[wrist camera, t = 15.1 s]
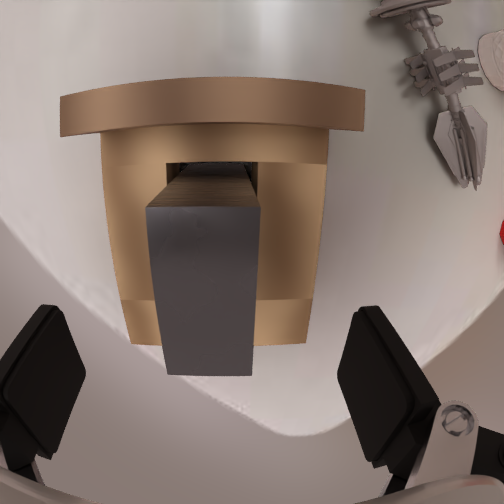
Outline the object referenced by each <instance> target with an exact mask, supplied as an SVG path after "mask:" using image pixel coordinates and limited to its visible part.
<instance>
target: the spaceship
mask: <svg viewBox="0 0 504 504" xmlns="http://www.w3.org/2000/svg"><path fill="white" fill-rule="evenodd" d="M449 3H451V0H384V1H382V2H381V6H380V7H377V8H375V9H373V10H371V11H370V15H371V16H372V17H375V16H380V17H381V18H387V17H391V16H396V15H400V14H404V13H409V15H410V17H411V18H410V20H409V21H407V22H406V23H405V27H406V28H407V29H408V30H414V31H416V30H417V29H418V30H419V31H421V32H422V34H423V35H422V36H423V37H424V38H425V41H426V43H427V47H428V49H424V53H423V54H421V53H419V54H420V55H417V56H413V57H409V58H406V59H405V62H406V64H410V65H411V68H412V70H410V74H411V76H415V78H416V80H417V81H415V82H414V84H415V87H416V88H420V87H423V88H422V89H421V90H420V91H421V94H422V97H424V96H425V95H426V94H427V93H428V92H429V91H430V90H431V89H432V88H433V90H435V89H434V87H435V86H436V88H437V89H438V91H439V92H440V94H445V97H446V99H447V103H448V106H447V107H448V111H445V112H441V113H439V115H438V119H437V124H436V128H435V132H434V136H433V139H434V140H435V142H436V144H437V145H438V147H439V149H440V150H441V152H442V154H443V156H444V157H445V159H446V161H447V163H448V165H449V167H450V168H451V170H452V172H453V174H454V175H455V176H456V177H457V179H458V181H459V183H460V185H461V187H462V188H466V187H467V186H468V184H469V181H473V185H474V189H475V190H476V191H477V185H480V184H481V178H482V171H483V168H484V164H485V153H486V140H487V123H486V122H485V121H484V119H483V118H482V117H481V116H480V115H479V113H478V112H477V111H476V110H475V109H474V107H473V106H467V107H461V103H460V101H459V97H458V93H460V92H461V88H463V87H465V89H466V86H471V85H483V80H482V78H481V77H469V73H468V72H473V71H479V67H478V64H465V61H464V58H471V57H475V55H474V52H473V50H460V48H459V47H457V48H456V49H454V50H453V48H452V51H450V52H449V51H448V50H447V48H446V46H440V44H439V43H438V41H437V38H436V36H435V32H433V29H434V26H436V27H437V26H439V25H441V24H442V23H443V20H442V18H441V17H440V16H438V15H430V14H429V12H428V10H427V8H431V7H435V6H440V5H445V4H449ZM457 59H462V60H461V61H460V62H459V63H458V61H457ZM422 64H423V65H424V66H425V67H422V68H417V67H418V66H420V65H422ZM415 68H417V69H415ZM464 72H466V73H465V74H464V75H462V73H464ZM427 76H429V79H426V80H423V79H425V78H426V77H427Z"/></svg>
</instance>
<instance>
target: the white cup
mask: <svg viewBox="0 0 504 504" xmlns="http://www.w3.org/2000/svg"><path fill="white" fill-rule="evenodd" d="M478 53H479V59H480V63H481V66H482V68H483V70H484V73H485V75H486V77H487V78H488V79H489V81H490V82H491V83H492V85H493V86H495V87H496V88H498V89H499V90H501V91H504V29H503V30H500V31H498V32H494V33H489V34H485V35H483V36H482V37H481V39H480V40H479V45H478Z"/></svg>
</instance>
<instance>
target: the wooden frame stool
mask: <svg viewBox="0 0 504 504" xmlns="http://www.w3.org/2000/svg"><path fill="white" fill-rule="evenodd" d="M364 112H365V90H362V89H357V88H351V87H345V86H339V85H333V84H325V83H318V82H309V81H300V80H289V79H276V78H257V77H196V78H178V79H165V80H154V81H145V82H137V83H129V84H122V85H116V86H109V87H104V88H98V89H93V90H88V91H83V92H78V93H74V94H70V95H65V96H61V97H60V137H65V136H73V135H82V134H91V133H100V135H101V160H102V175H103V188H104V198H105V208H106V216H107V224H108V232H109V239H110V245H111V252H112V258H113V264H114V269H115V275H116V280H117V285H118V290H119V295H120V299H121V304H122V308H123V313H124V317H125V321H126V325H127V329H128V333H129V337H130V341H131V344H140V345H161V346H162V343H161V337H160V331H159V325H158V319H157V312H156V306H155V299H154V291H153V284H152V276H151V267H150V258H149V248H148V238H147V226H146V212H145V207H146V206H147V205H148V204H149V203H150V202H151V201H152V200H153V199H154V198H155V197H156V196H157V195H158V194H159V193H160V192H161V191H162V190H163V189H164V188H165V187H166V186H167V185H168V184H169V183H170V182H171V181H172V180H173V179H174V178H175V177H176V176H177V175H178V174H179V162H217V161H245V162H252V171H251V184H252V187H253V189H254V192H255V194H256V197H257V199H258V201H259V204H260V206H261V215H260V235H259V254H258V273H257V292H256V311H255V329H254V346H261V345H283V344H299V343H306V338H307V332H308V326H309V319H310V313H311V306H312V299H313V292H314V285H315V278H316V270H317V262H318V254H319V245H320V236H321V227H322V217H323V207H324V196H325V184H326V171H327V156H328V140H329V129H334V130H351V131H364Z"/></svg>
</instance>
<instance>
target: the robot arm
mask: <svg viewBox="0 0 504 504" xmlns="http://www.w3.org/2000/svg"><path fill="white" fill-rule="evenodd" d="M85 376H86V370H85V367H84V365H83V362H82V360H81V358H80V355H79V353H78V350H77V348H76V346H75V343H74V341H73V338H72V336H71V333H70V330H69V328H68V325H67V322H66V320H65V316H64V314H63V312H62V311H61V310H60V309H59V308H58V307H57V306H55V305H44V304H43V305H41V306H40V307H39V308H38V309H37V310H36V312H35V313H34V314H33V315H32V317H31V318H30V319H29V321H28V322H27V323H26V325H25V326H24V327H23V329H22V330H21V331H20V333H19V334H18V335H17V337H16V338H15V339H14V341H13V342H12V344H11V345H10V347H9V348H8V349H7V351H6V352H5V354H4V355H3V357H2V358H1V360H0V504H102V503H98V502H94V501H90V500H86V499H83V498H80V497H76V496H73V495H70V494H67V493H64V492H61V491H58V490H55V489H53V488H50V487H47V486H45V484H44V482H43V479H42V477H41V474H40V472H39V469H38V467H37V464H36V461H35V455H36V454H38V456H41V457H44V458H46V459H49V460H51V458H52V455H53V453H56V452H57V450H58V447H59V444H60V441H61V438H62V435H63V433H64V430H65V427H66V425H67V422H68V419H69V417H70V414H71V411H72V409H73V406H74V404H75V401H76V399H77V396H78V394H79V391H80V389H81V387H82V384H83V382H84V379H85ZM337 378H338V382H339V385H340V387H341V390H342V393H343V396H344V398H345V401H346V404H347V407H348V410H349V412H350V415H351V418H352V421H353V424H354V426H355V429H356V432H357V435H358V438H359V441H360V444H361V446H362V450H363V452H364V455H365V458H366V460H367V461H368V462H372V465H373V467H374V468H378V467H381V466H385V465H387V467H388V470H389V472H390V474H389V476H388V478H387V480H386V482H385V485H384V487H383V489H382V491H381V493H380V495H379V497H378V498H375V499H371V500H368V501H364V502H360V503H355V504H504V434H500V433H498V432H495V431H492V430H489V429H486V428H483V427H480V426H479V424H478V418H477V415H476V413H475V411H474V410H473V409H472V408H471V407H470V406H469V405H467V404H466V403H463V402H461V401H448V402H445V403H443V404H442V405H441V403H440V401H439V398H438V396H437V395H436V393H435V391H434V390H433V388H432V386H431V385H430V383H429V382H428V380H427V378H426V377H425V375H424V373H423V372H422V370H421V369H420V367H419V366H418V364H417V362H416V361H415V359H414V358H413V356H412V355H411V353H410V352H409V350H408V348H407V347H406V345H405V344H404V342H403V341H402V339H401V338H400V336H399V335H398V333H397V332H396V330H395V329H394V327H393V326H392V324H391V323H390V322H389V320H388V319H387V317H386V316H385V314H384V313H383V311H382V310H381V309H380V307H379V306H364V307H360V308H359V310H358V312H354V314H353V317H352V321H351V325H350V329H349V333H348V336H347V340H346V344H345V347H344V351H343V354H342V358H341V361H340V364H339V368H338V371H337Z"/></svg>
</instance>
